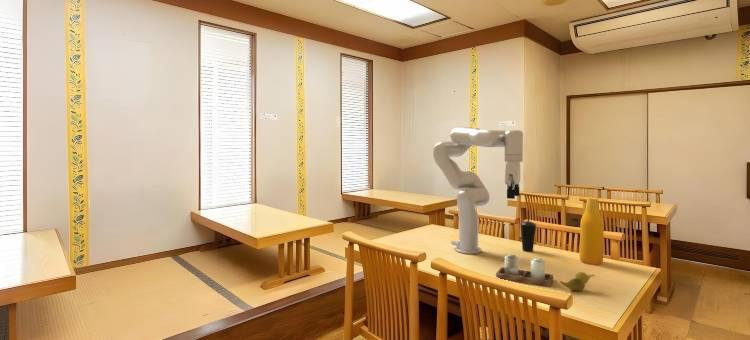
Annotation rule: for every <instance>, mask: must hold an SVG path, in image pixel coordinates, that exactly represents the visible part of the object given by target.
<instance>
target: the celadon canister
mask: <svg viewBox="0 0 750 340" xmlns="http://www.w3.org/2000/svg"><path fill="white" fill-rule="evenodd" d="M530 271H531V277H530V278H534V279H540V280H546V279H545V274H546V260H544V259H543V258H541V257H534V258H532V259H530Z"/></svg>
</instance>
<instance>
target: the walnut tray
mask: <svg viewBox="0 0 750 340" xmlns="http://www.w3.org/2000/svg"><path fill="white" fill-rule="evenodd" d="M496 277H498V278H502V279H501V280H505V279H506V280H505V281H511V282H518V283H524V284H530V285H534V286H535V285H536V286H540V287H541V286H542V287H549V288H550V287H551V286H552V284H553V281H554V274H551V273H545V280H540V279H534V278H531V270H523V269H519V257H518V256H517V255H515V254H511V253H510V254H507V255H505V256H504V266H501V267H500V268H499V269H498V270H497V271H496V273H495V278H496ZM498 278H497V279H498Z"/></svg>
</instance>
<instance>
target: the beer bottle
mask: <svg viewBox="0 0 750 340" xmlns="http://www.w3.org/2000/svg"><path fill="white" fill-rule="evenodd" d="M604 225H605V223H604V219H603V217H602V214H601V213H600V206H599V198H597V197H587V199H586V205H585V209H584V213H583V215H582V216H581V219H580V226H579V227H580V230H579V231H580V232H579V235H580V236H579V260H580V262H581V263H584V264H587V265H593V266H599V265H602V264H603V263H604V227H605V226H604Z"/></svg>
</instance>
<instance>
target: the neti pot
mask: <svg viewBox="0 0 750 340" xmlns="http://www.w3.org/2000/svg"><path fill="white" fill-rule="evenodd" d="M595 276H596V275H595V274H590V275H589V274H587V273H585V272H582V271H578V272H577V273H576V274H575V278H574V277H573V278H571V279H570V280H568V281H566V282H565V281H562V280H559V283H560V284H561V285H562V286H565V287H566V288H567V289H570V290H572V291H583V290H584V289H585V287H586V284H587V283H588V282H589V280H590V279H591V278H592V277H595Z"/></svg>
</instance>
